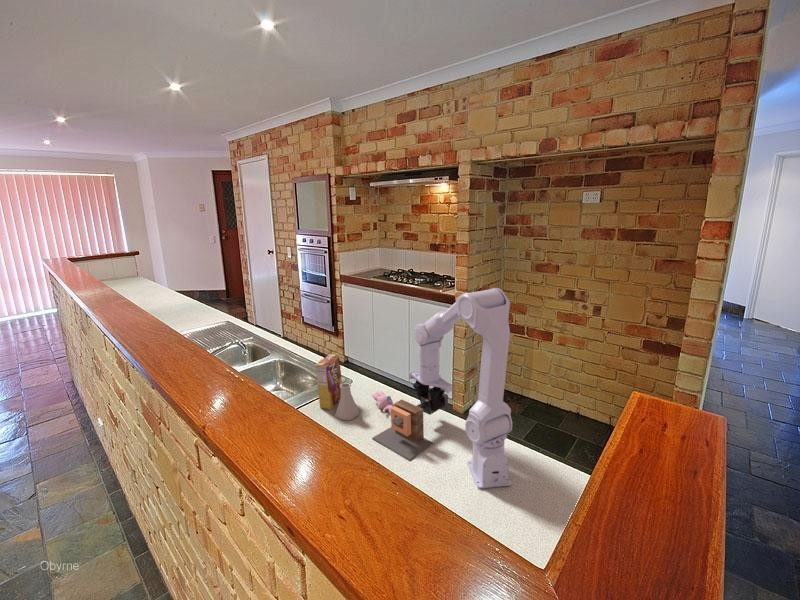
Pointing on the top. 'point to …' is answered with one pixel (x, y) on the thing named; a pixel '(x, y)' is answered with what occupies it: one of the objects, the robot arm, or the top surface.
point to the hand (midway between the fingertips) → (429, 407)
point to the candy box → (329, 381)
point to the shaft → (427, 406)
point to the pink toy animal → (383, 401)
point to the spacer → (406, 418)
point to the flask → (346, 404)
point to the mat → (401, 444)
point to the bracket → (412, 421)
